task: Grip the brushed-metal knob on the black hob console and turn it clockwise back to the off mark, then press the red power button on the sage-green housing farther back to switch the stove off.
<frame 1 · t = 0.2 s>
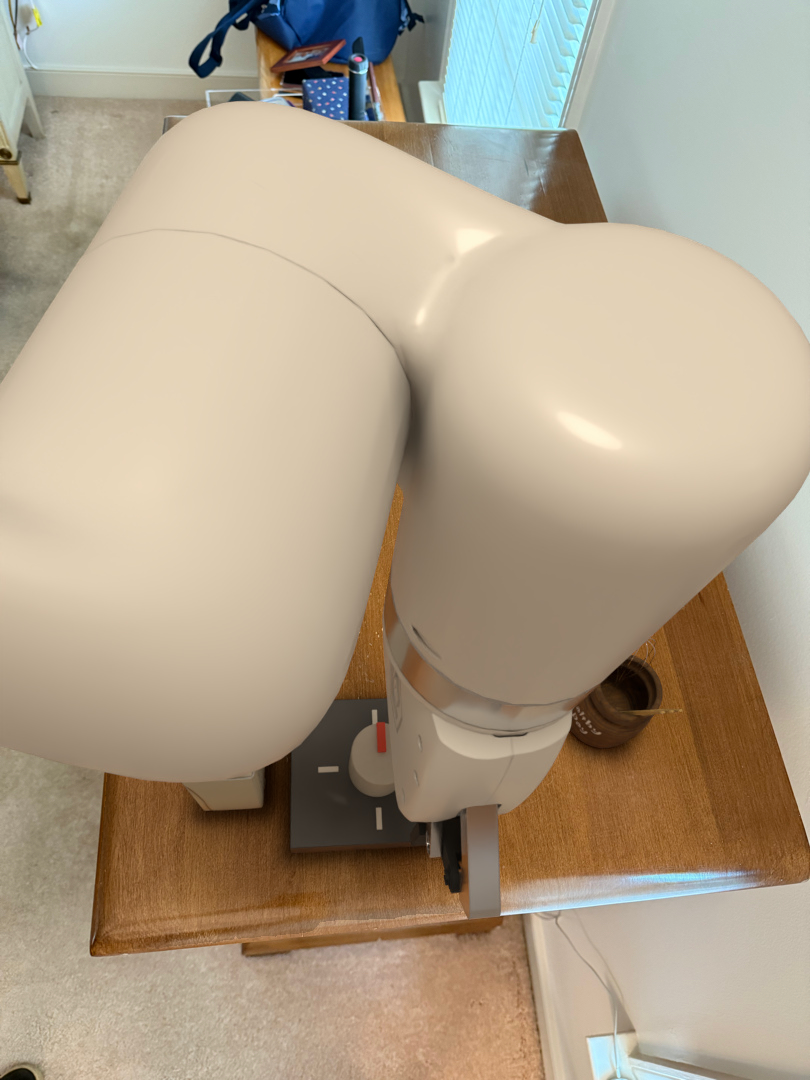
hand: (431, 737, 38), 18 cm above the table, tool pointing down, fingers open, 9 cm apart
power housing: (234, 280, 77), on the table
utensil holder: (596, 715, 59), on the table
hob knob: (379, 760, 50), point 5 cm above the table, hinge at 90.0°
power button: (230, 244, 73), point 4 cm above the table, slide at 0.1 cm
hob console: (373, 776, 55), on the table
cosmetic box: (236, 768, 54), on the table
chess piece: (521, 549, 65), on the table
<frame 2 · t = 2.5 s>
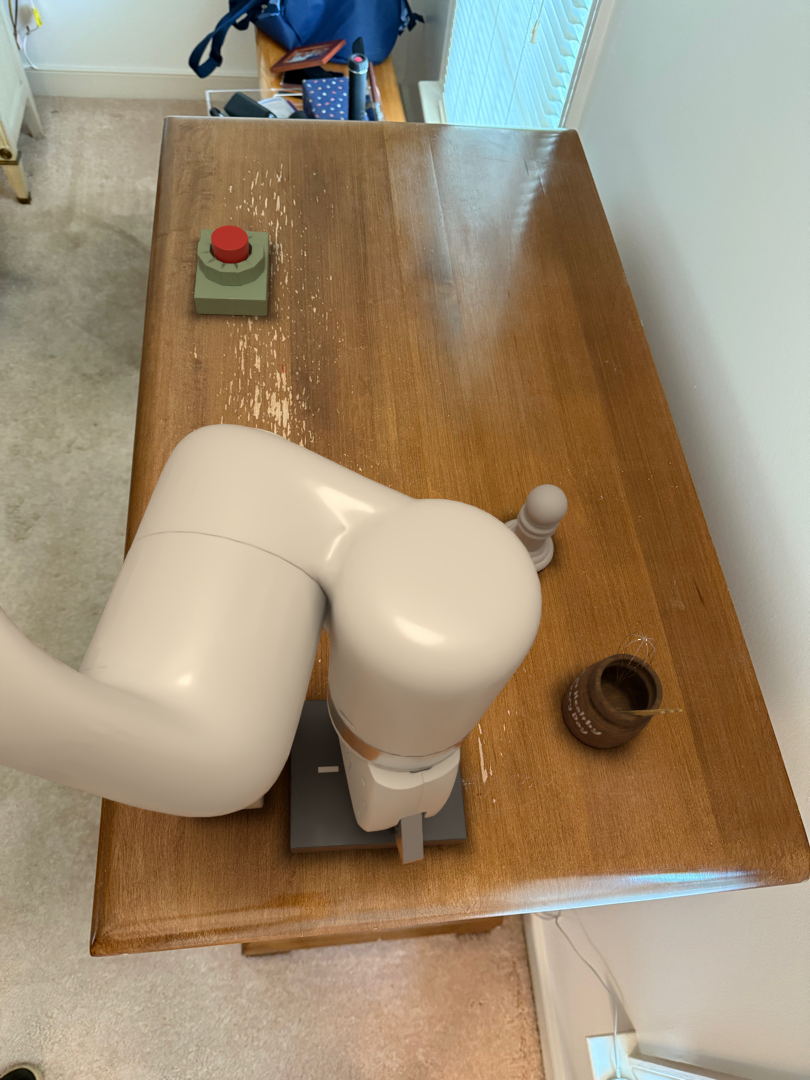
hand: (377, 765, 51), 4 cm above the table, tool pointing down, fingers closed on hob knob, 4 cm apart
hob knob: (379, 760, 50), point 5 cm above the table, hinge at 89.9°, touching gripper
everything else where it was.
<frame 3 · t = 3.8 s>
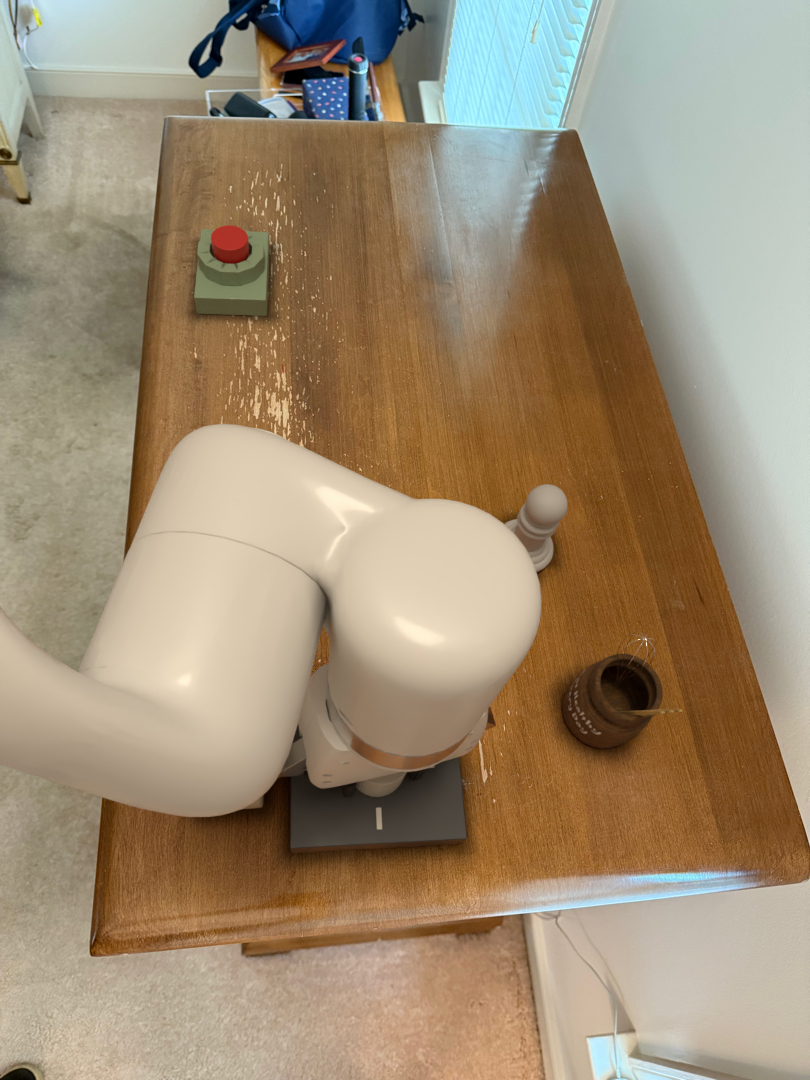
hand: (377, 765, 51), 4 cm above the table, tool pointing down, fingers closed on hob knob, 4 cm apart
hob knob: (379, 760, 50), point 5 cm above the table, hinge at 0.5°, touching gripper
everything else where it was.
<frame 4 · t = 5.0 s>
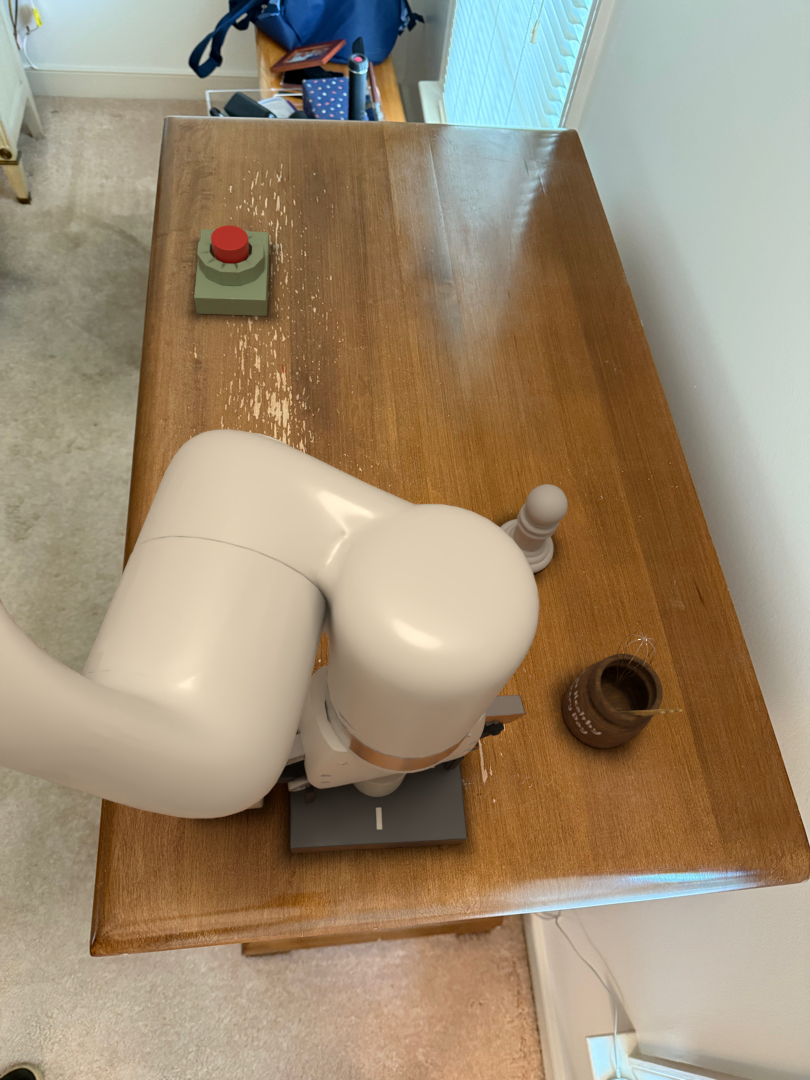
hand: (376, 763, 51), 4 cm above the table, tool pointing down, fingers open, 9 cm apart
hob knob: (379, 760, 50), point 5 cm above the table, hinge at 2.2°
everything else where it was.
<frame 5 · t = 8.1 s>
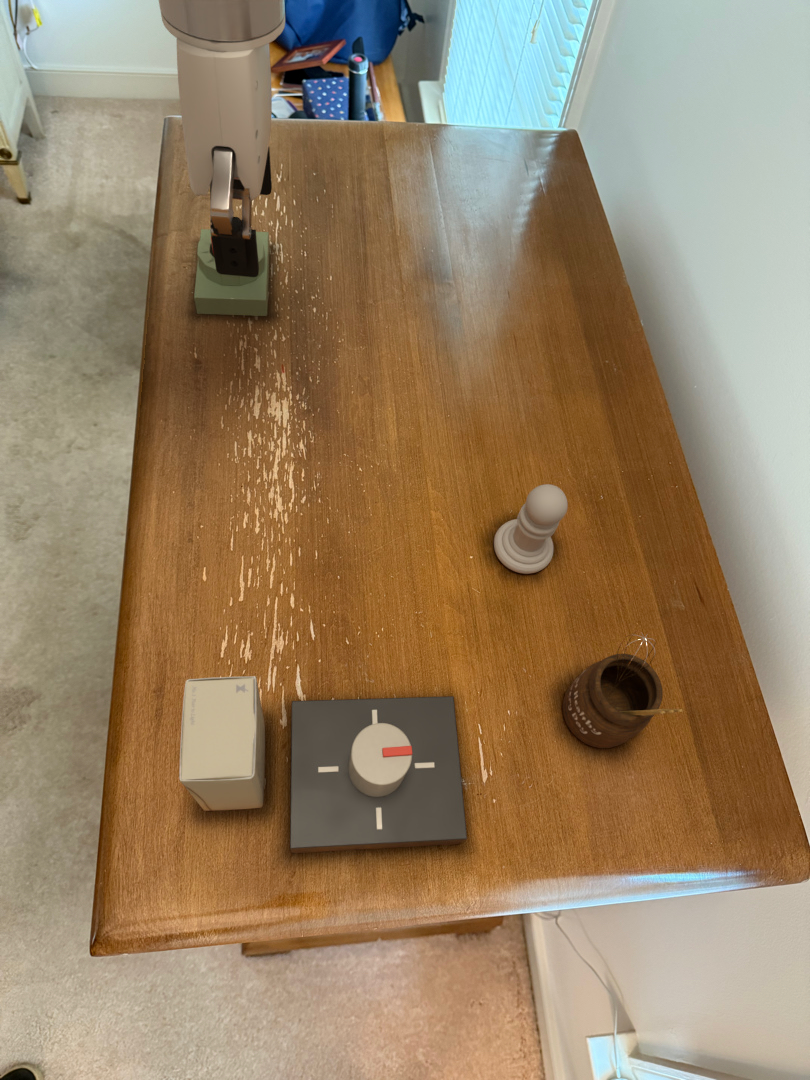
hand: (245, 230, 59), 15 cm above the table, tool pointing down, fingers open, 9 cm apart
nothing on the table moved.
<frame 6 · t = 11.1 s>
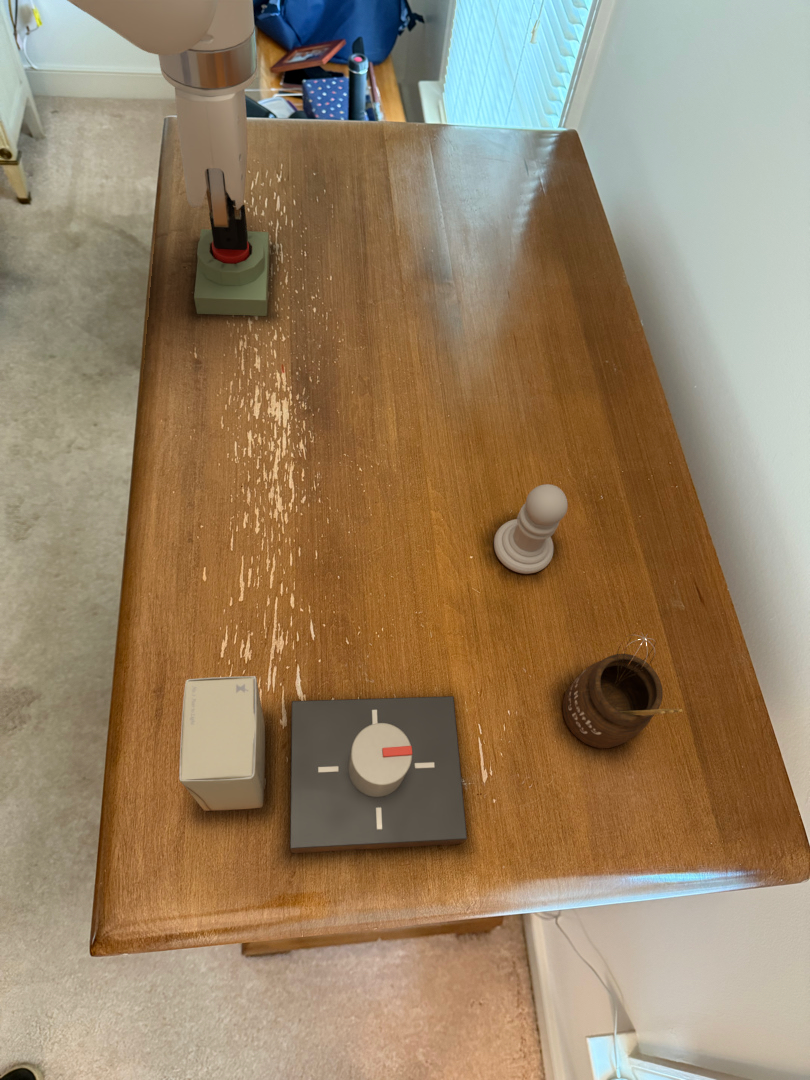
hand: (231, 243, 73), 5 cm above the table, tool pointing down, fingers closed
power button: (231, 251, 74), point 4 cm above the table, slide at -0.7 cm, touching gripper
everything else where it was.
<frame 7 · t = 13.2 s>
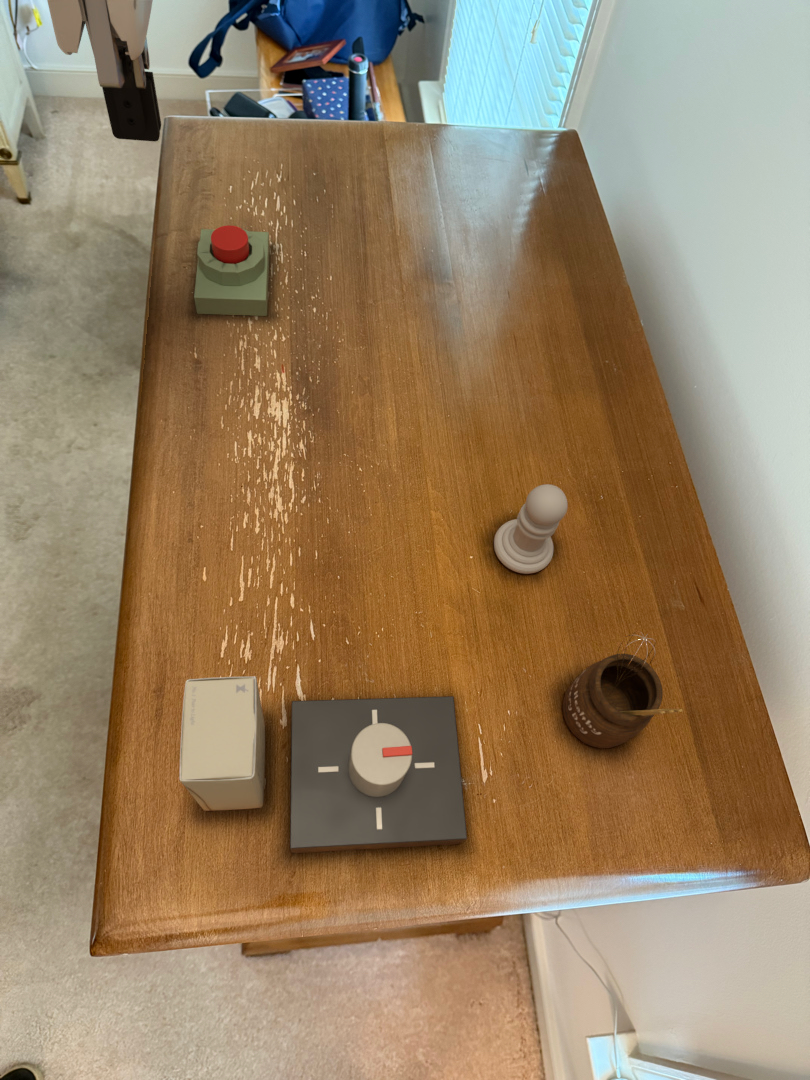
hand: (138, 133, 53), 22 cm above the table, tool pointing down, fingers closed
power button: (230, 244, 73), point 4 cm above the table, slide at 0.1 cm
everything else where it was.
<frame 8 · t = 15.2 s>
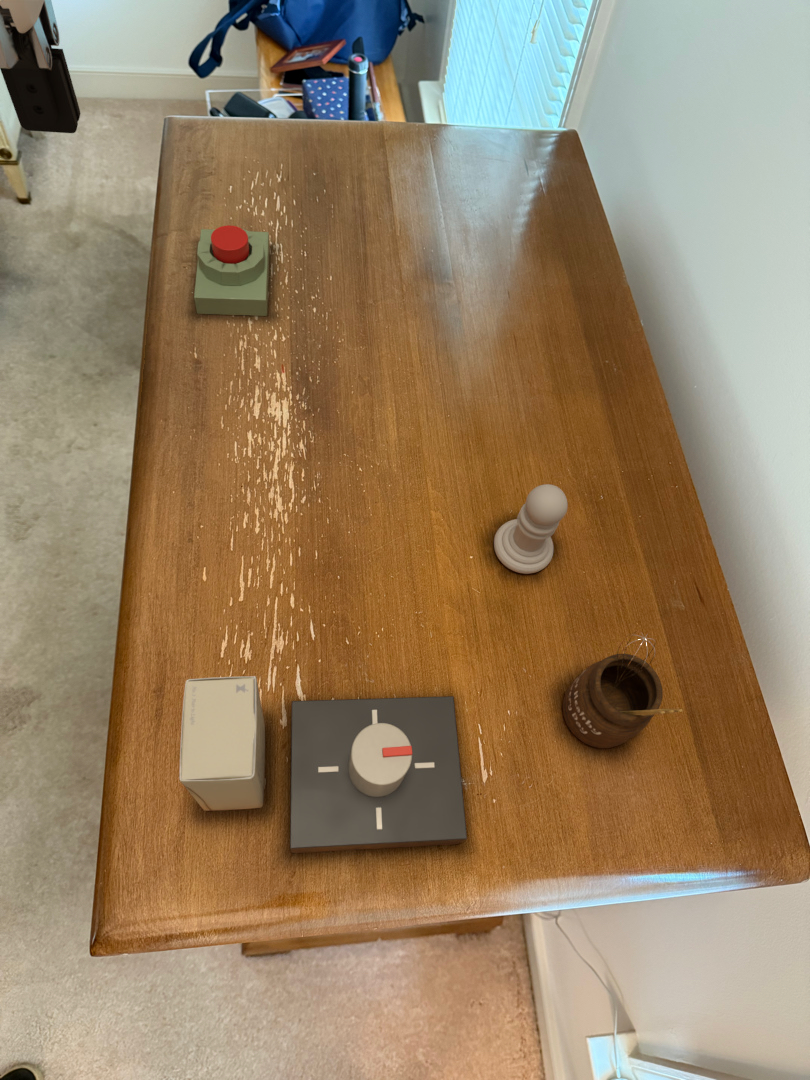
hand: (52, 123, 45), 27 cm above the table, tool pointing down, fingers closed
nothing on the table moved.
at the end: hob knob at +2° (first picture: +90°); power button pushed in 1.1 cm at the most during the clip, back to where it started at the end; power button slide at 0.1 cm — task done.
